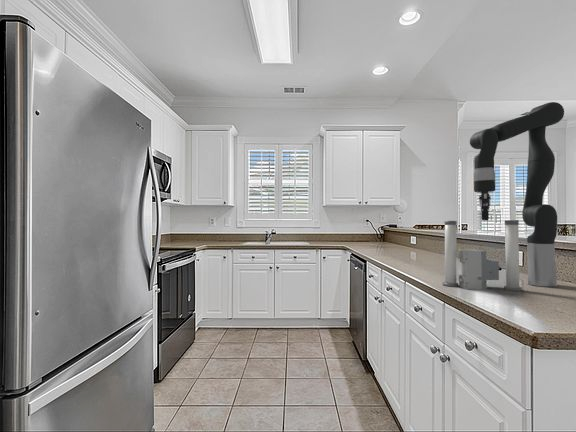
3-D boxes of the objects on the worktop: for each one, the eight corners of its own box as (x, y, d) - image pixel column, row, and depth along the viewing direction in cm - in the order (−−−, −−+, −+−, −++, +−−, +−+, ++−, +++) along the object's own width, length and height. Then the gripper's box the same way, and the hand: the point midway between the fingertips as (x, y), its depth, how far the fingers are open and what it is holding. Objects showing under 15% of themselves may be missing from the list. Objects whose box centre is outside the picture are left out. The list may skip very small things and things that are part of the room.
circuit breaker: (503, 289, 135) (503, 251, 135) (464, 288, 138) (463, 251, 138) (496, 286, 143) (495, 249, 143) (458, 285, 145) (458, 249, 146)
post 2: (521, 289, 137) (519, 220, 137) (523, 291, 131) (521, 220, 132) (503, 287, 139) (501, 220, 140) (504, 290, 134) (503, 220, 134)
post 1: (458, 284, 147) (458, 220, 147) (458, 287, 141) (458, 220, 141) (443, 283, 150) (443, 220, 149) (442, 285, 144) (442, 220, 144)
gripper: (496, 177, 132) (497, 220, 132) (494, 181, 145) (494, 220, 144) (473, 178, 135) (474, 220, 135) (473, 182, 148) (474, 220, 148)
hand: (485, 220), depth 140 cm, fingers open, 8 cm apart
